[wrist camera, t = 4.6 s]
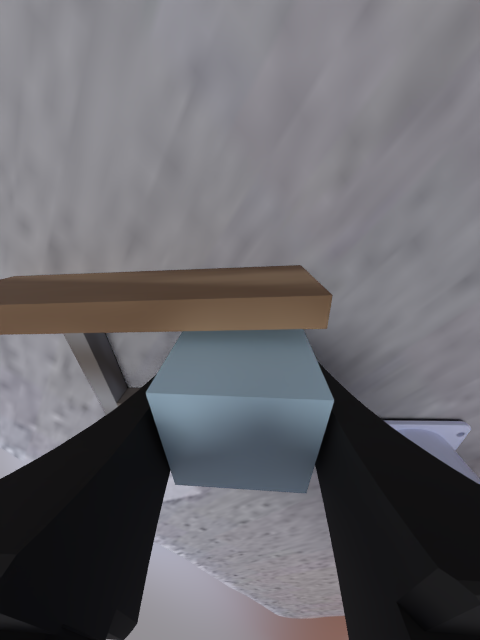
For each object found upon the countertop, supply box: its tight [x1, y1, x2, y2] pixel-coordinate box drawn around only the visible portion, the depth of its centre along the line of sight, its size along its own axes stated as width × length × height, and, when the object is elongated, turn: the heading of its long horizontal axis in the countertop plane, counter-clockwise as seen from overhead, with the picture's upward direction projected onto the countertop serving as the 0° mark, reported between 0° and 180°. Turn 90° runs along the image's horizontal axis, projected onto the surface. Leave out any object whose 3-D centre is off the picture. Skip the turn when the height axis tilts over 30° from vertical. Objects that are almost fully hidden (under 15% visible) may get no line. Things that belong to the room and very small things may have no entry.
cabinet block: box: [146, 329, 334, 493], centre depth 9 cm, size 6×5×6 cm
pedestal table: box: [0, 265, 333, 415], centre depth 11 cm, size 10×16×4 cm, turn 93°
